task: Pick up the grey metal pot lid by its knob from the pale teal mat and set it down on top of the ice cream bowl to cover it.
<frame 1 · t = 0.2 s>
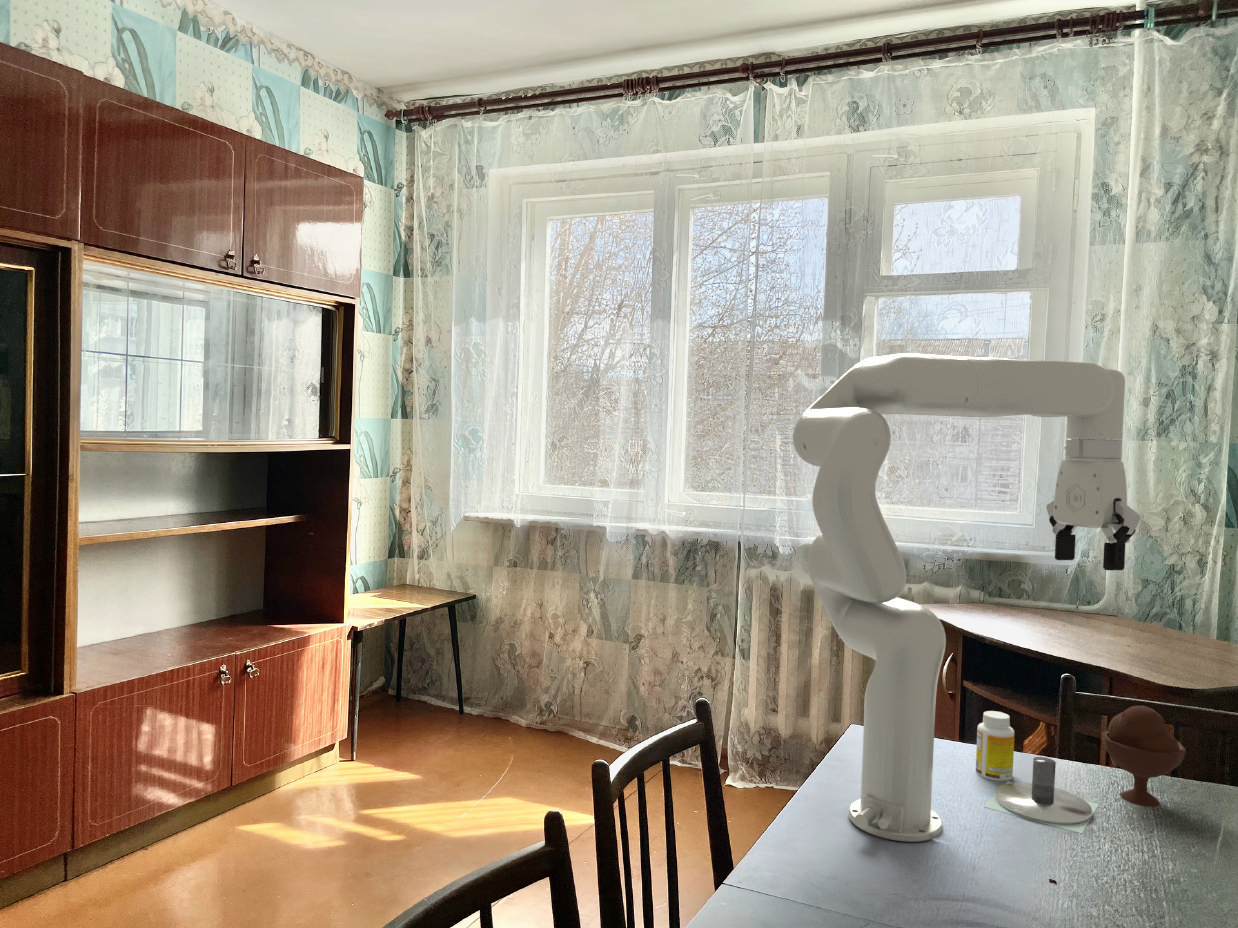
hand: (1088, 564, 134), 36 cm above the table, tool pointing down, fingers open, 9 cm apart
lid: (1042, 805, 132), resting on mat
ice cream bowl: (1139, 802, 135), on the table
supplement bottle: (993, 777, 143), on the table
mat: (1042, 807, 132), on the table
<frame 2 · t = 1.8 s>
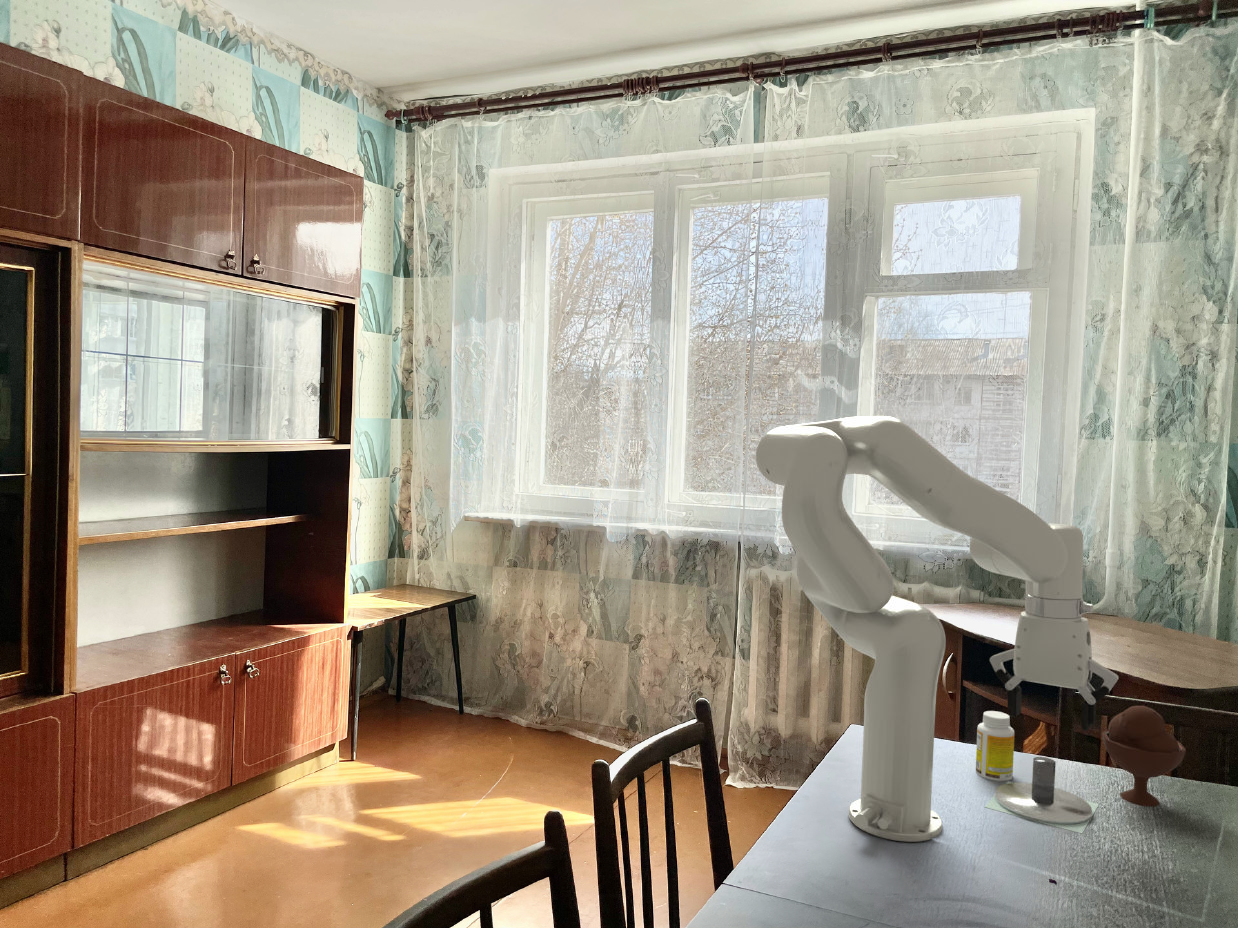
hand: (1050, 721, 131), 13 cm above the table, tool pointing down, fingers open, 9 cm apart
nothing on the table moved.
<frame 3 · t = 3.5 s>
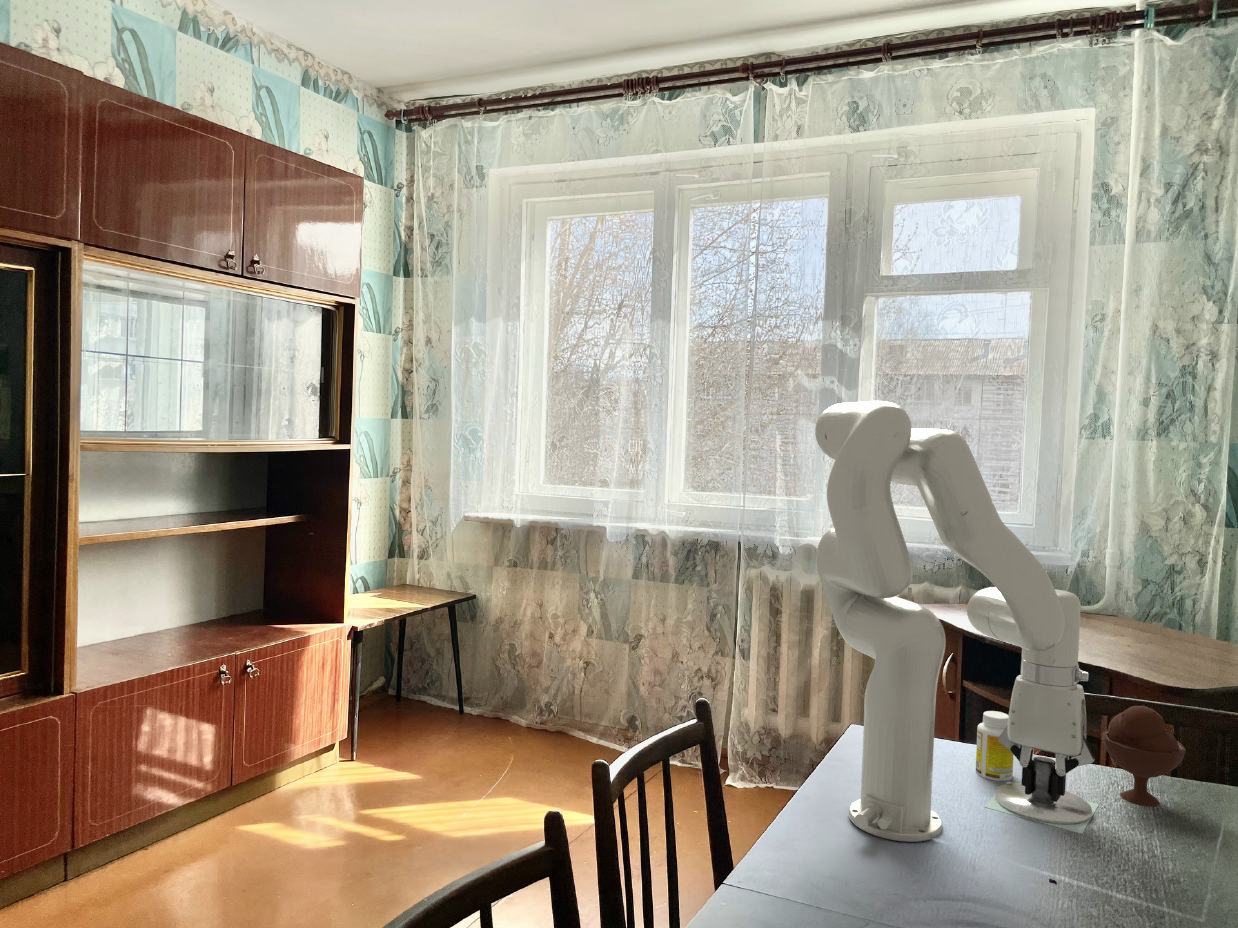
hand: (1042, 793, 132), 2 cm above the table, tool pointing down, fingers closed on lid, 3 cm apart
lid: (1042, 805, 132), resting on mat, touching gripper
everything else where it was.
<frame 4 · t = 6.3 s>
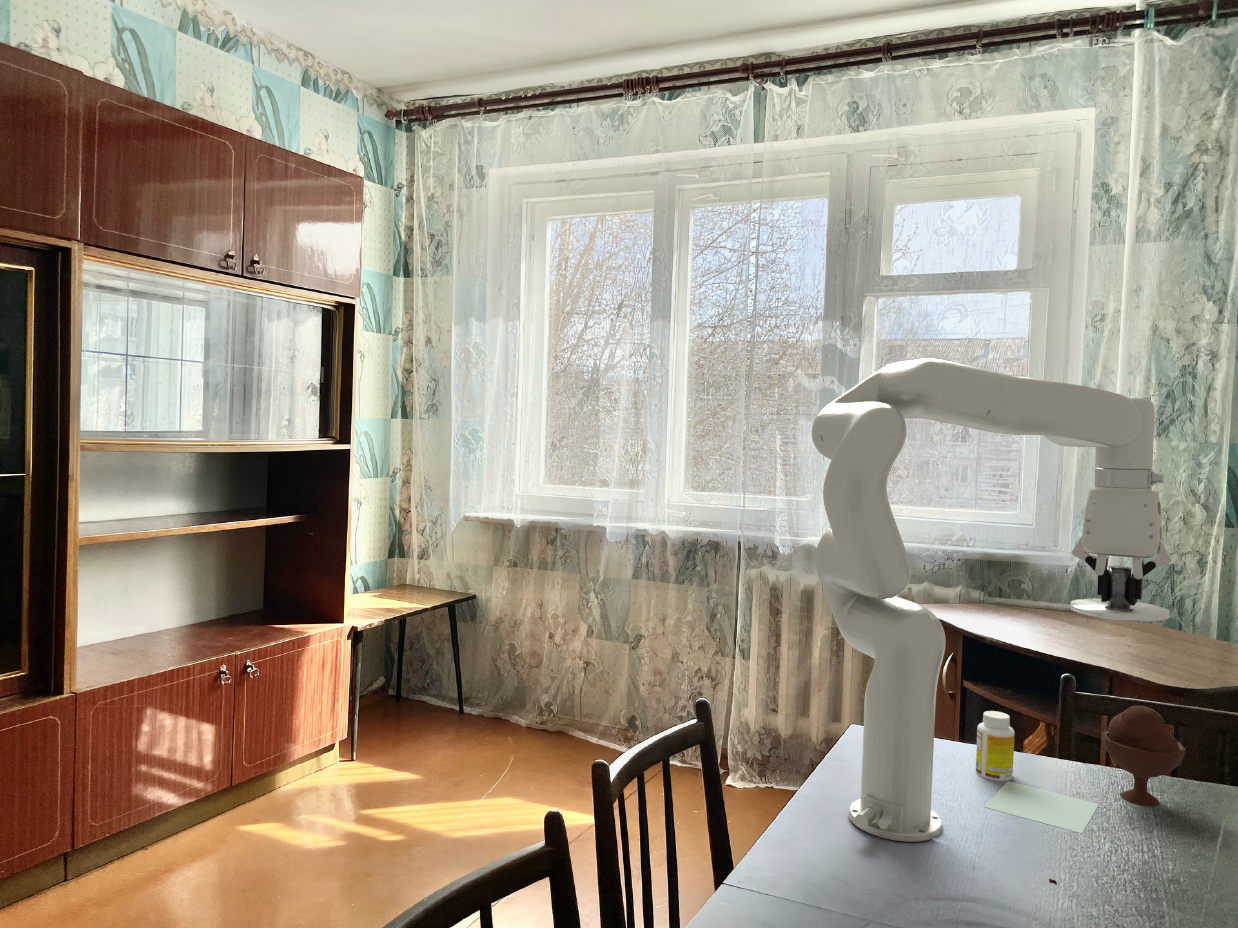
hand: (1119, 601, 133), 31 cm above the table, tool pointing down, fingers closed on lid, 3 cm apart
lid: (1118, 612, 133), point 29 cm above the table, touching gripper
everything else where it was.
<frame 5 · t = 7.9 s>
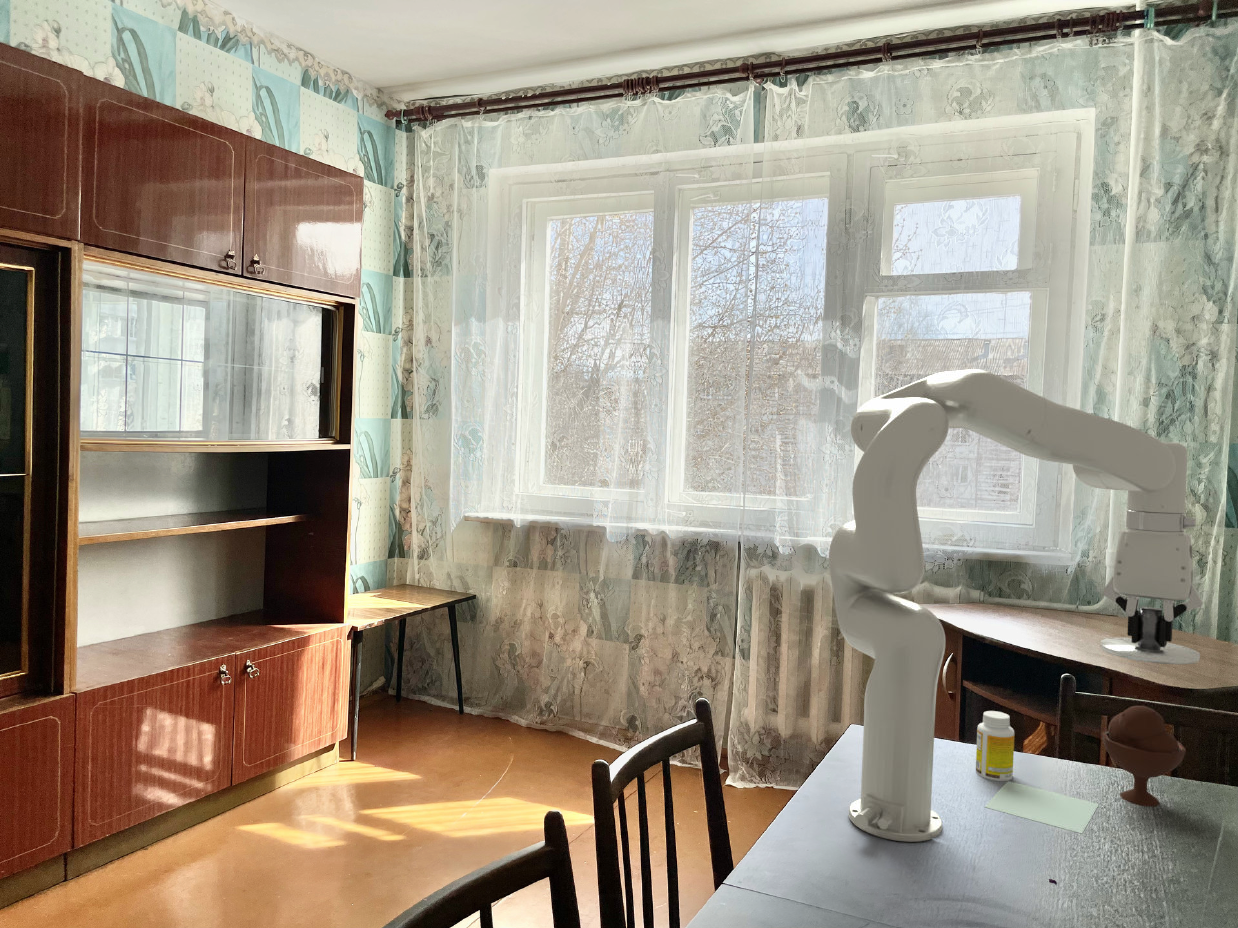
hand: (1149, 642, 134), 25 cm above the table, tool pointing down, fingers closed on lid, 3 cm apart
lid: (1148, 652, 134), point 23 cm above the table, touching gripper
everything else where it was.
when the fingers open (18 cm above the table, at t = 9.3 s): lid stays where it is, resting on ice cream bowl.
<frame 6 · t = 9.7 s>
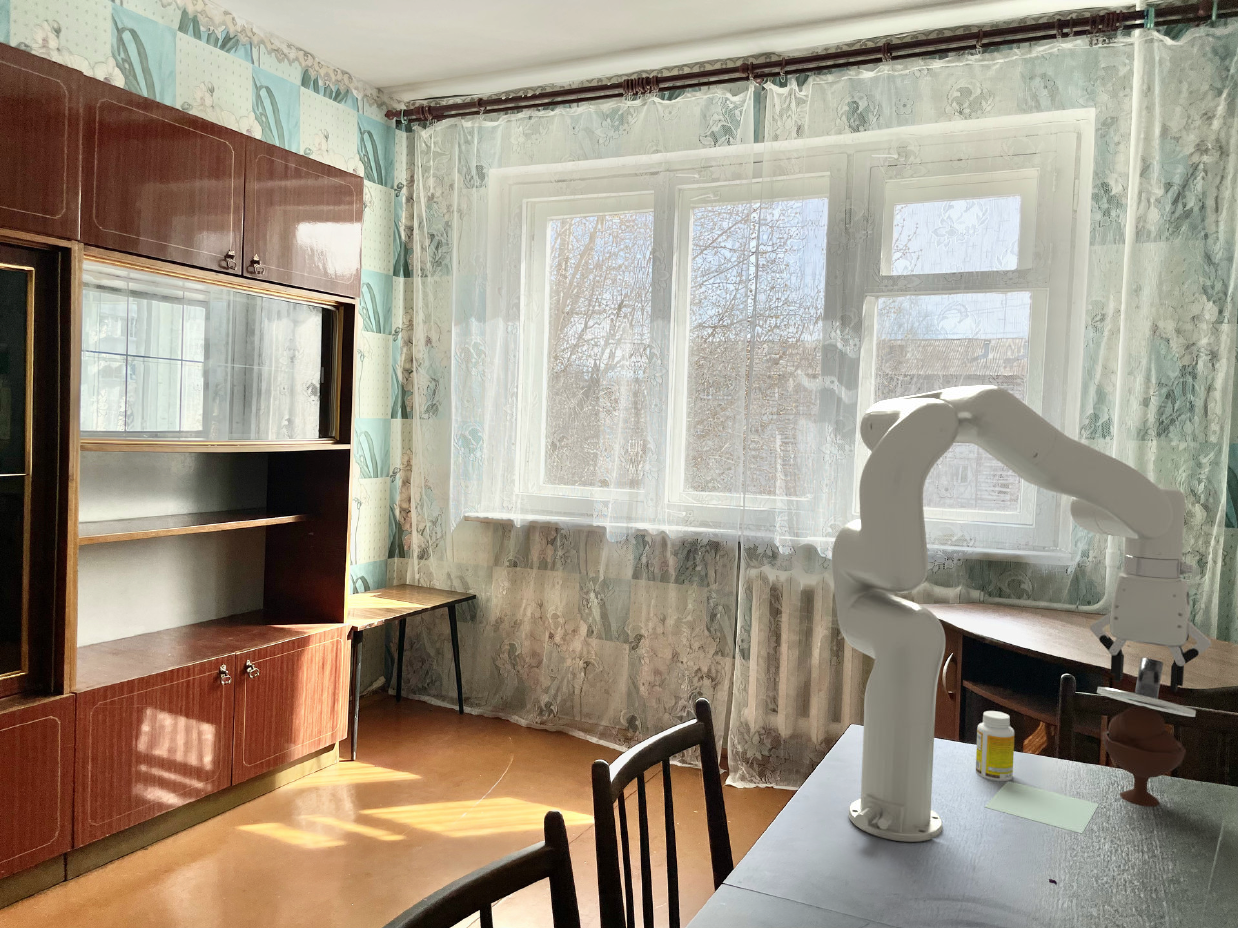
hand: (1145, 683, 135), 18 cm above the table, tool pointing down, fingers open, 6 cm apart
lid: (1144, 704, 135), point 15 cm above the table, tilted 18°, touching ice cream bowl
ice cream bowl: (1139, 802, 135), on the table, touching lid
everything else where it was.
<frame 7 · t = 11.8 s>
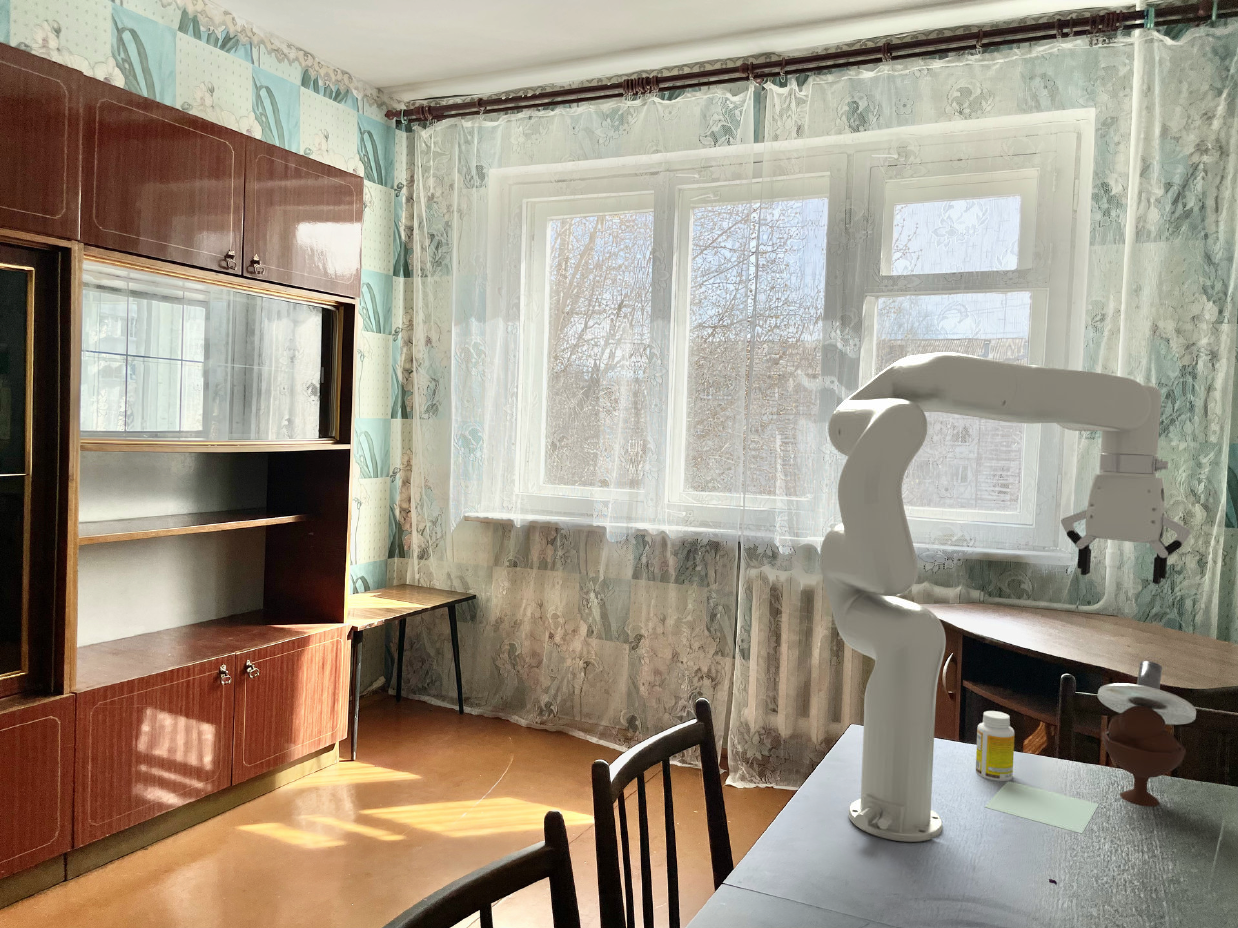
hand: (1120, 578, 135), 34 cm above the table, tool pointing down, fingers open, 9 cm apart
lid: (1145, 706, 135), point 14 cm above the table, tilted 34°, touching ice cream bowl
everything else where it was.
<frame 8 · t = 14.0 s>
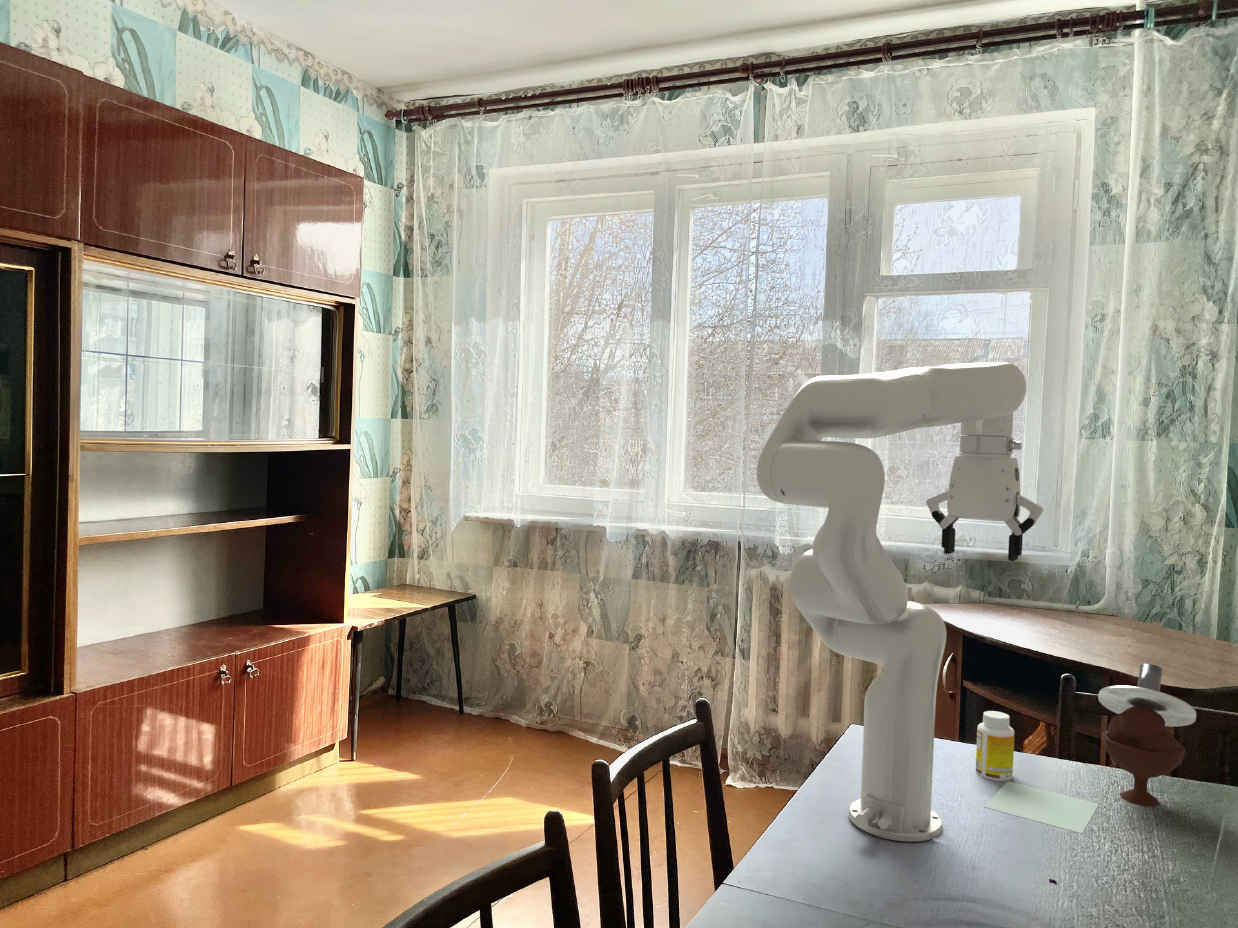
hand: (980, 556, 139), 36 cm above the table, tool pointing down, fingers open, 9 cm apart
nothing on the table moved.
at the end: lid 1.8 cm from the ice cream bowl (horizontally); lid point 13.9 cm above the table; the gripper is holding nothing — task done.
